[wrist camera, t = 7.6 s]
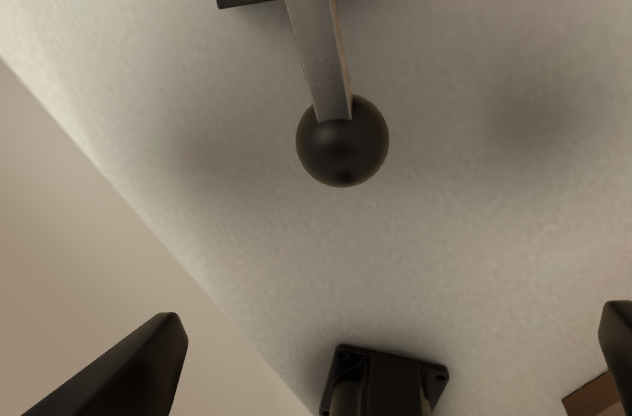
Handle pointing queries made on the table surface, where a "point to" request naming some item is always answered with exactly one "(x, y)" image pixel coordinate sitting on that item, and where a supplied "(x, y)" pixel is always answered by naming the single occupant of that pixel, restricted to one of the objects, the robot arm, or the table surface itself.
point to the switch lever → (333, 103)
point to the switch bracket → (237, 3)
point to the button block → (595, 399)
